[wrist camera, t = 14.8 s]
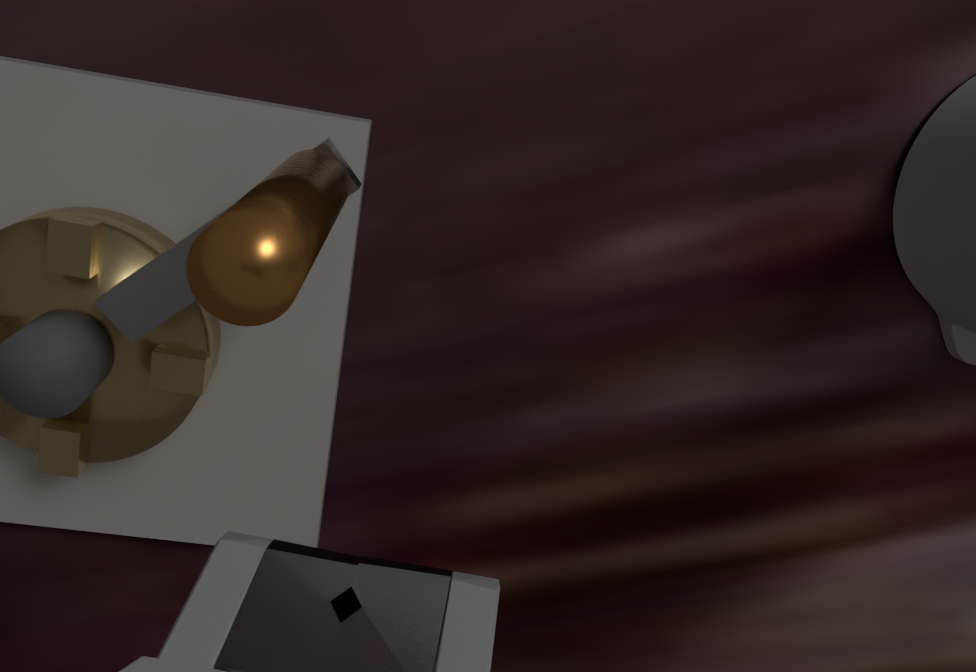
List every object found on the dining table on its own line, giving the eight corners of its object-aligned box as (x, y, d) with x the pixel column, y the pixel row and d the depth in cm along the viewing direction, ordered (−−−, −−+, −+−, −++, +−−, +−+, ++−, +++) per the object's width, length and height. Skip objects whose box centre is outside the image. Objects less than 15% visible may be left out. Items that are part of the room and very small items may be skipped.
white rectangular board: (371, 120, 40) (358, 139, 33) (318, 541, 48) (297, 634, 41) (-160, 28, 38) (-307, 26, 30) (-126, 491, 45) (-237, 581, 38)
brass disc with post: (87, 475, 44) (-134, 758, 27) (-85, 295, 40) (-472, 490, 23) (423, 254, 41) (418, 412, 24) (272, 38, 37) (135, 40, 20)
